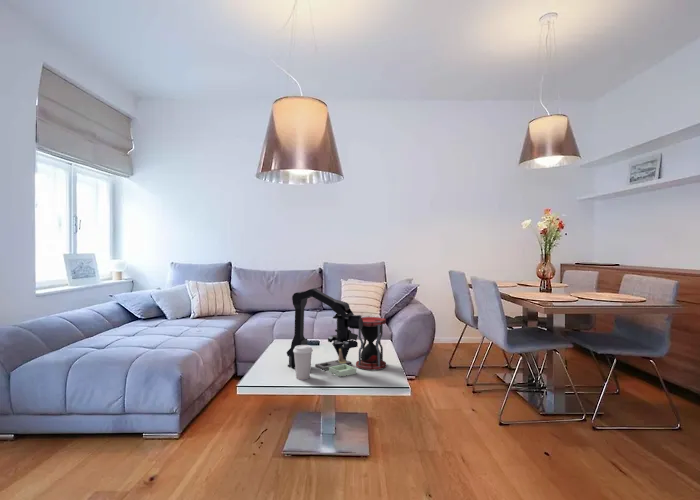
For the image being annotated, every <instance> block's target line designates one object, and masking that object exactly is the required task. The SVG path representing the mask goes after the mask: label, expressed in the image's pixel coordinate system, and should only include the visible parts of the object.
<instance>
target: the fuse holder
mask: <svg viewBox="0 0 700 500" xmlns="http://www.w3.org/2000/svg"><path fill="white" fill-rule="evenodd" d="M342 364H347V365H349V366H352V365H353V364H352V361H350V360H347V359H346V363H338V359H337V360H331V361H325V362H320V363H316V364H314V367H315V368H317V369H319V370H321V371H329V367H332V366H337V365H342Z"/></svg>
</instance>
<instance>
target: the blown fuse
mask: <svg viewBox="0 0 700 500" xmlns="http://www.w3.org/2000/svg"><path fill="white" fill-rule="evenodd" d="M346 360H347V358H346V359H343V355H342V351H341V348H339V363H346Z"/></svg>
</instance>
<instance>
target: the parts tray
mask: <svg viewBox="0 0 700 500" xmlns="http://www.w3.org/2000/svg"><path fill="white" fill-rule="evenodd" d="M328 373H330V374H333V375H334V374H335V376H337V377H339V378H341V376H343V377H346V375H347V376H352V375H356V374H357V367H353V366H352V365H347V364H342V365H337V366H332V367H329V369H328Z"/></svg>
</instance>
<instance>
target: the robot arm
mask: <svg viewBox="0 0 700 500" xmlns="http://www.w3.org/2000/svg"><path fill="white" fill-rule="evenodd" d="M312 297H313V298H314V299H315V300H318V301H319V302H321V303H322V304H324V305H327V306H328V307H329V308H330V309H331V310H332V311H333V312H334V313H335V315H333V316H332V319H335V320H336V328H335V329H334V332H335V333H336V334H335V335H329V336H328V337H327V342H328V343H331V344H332V346H333V348H334V349H335V351H336V354H337V357H338V356H339V348H341V351H342V355H343V359H346V360H347V357H348V353H349V350H350V349H354V348H359V346H358V344H359V342H357V341H358V338H359V334H356V333H353V332H352V330H351V329H353V330H354V329H355V330H359V329H362V327H363V320H362V315H361V314H356V315H355V314H354V312H353V311H352V310H351V307H350V304H349V303H348V302H346V301H343V300H338V299H335V298H333V297H332V296H329V295H328V294H325V292H322V291H320V290H318V288H316V287H313V288H310V289H308V290H305V291H298V292H294V293H293V294H292V297H291V300H292V301H291V302H292V305H293V307H294V335H293V338H292V341H291V344H290V345H291V346H290V348H289V349H288V350H287V351H286V355H287V357H288V364H287V367H289V368H291V369H295V358H294V352H293V350H294V348H295V346H298V345H308V338H305V335H304V334H305V333H304V332H305V328H304V326H305V324H304V323H305V308H306V306H307V304H308V299H310V298H312ZM332 342H333V343H332Z"/></svg>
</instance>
